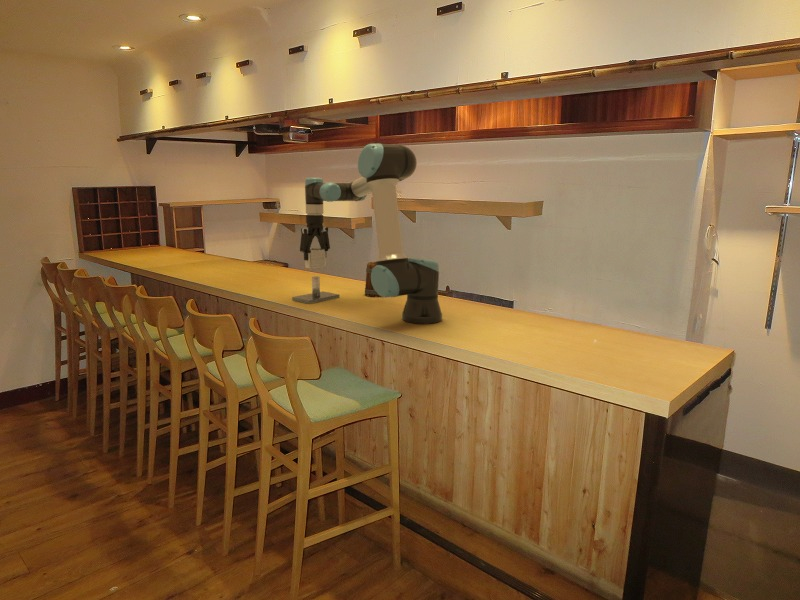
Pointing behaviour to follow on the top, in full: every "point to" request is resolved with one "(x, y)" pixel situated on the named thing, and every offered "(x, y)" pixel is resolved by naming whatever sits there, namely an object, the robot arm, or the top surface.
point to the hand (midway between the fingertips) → (315, 266)
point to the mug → (369, 288)
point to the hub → (317, 258)
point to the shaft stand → (315, 294)
